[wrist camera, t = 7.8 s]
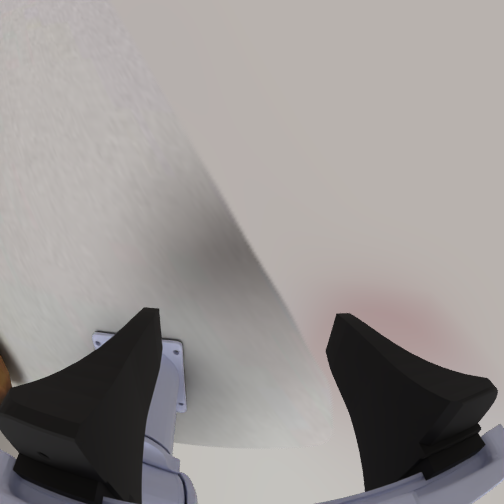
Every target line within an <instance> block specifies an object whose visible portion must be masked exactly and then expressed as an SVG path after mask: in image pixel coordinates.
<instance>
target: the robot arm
mask: <svg viewBox="0 0 504 504" xmlns="http://www.w3.org/2000/svg"><path fill="white" fill-rule="evenodd" d="M92 339H93V343H94V347H95V351H94V352H92V353H91V354H89V355H88V356H86V357H84V358H83V359H81V360H80V361H78V362H76V363H74V364H72V365H70V366H69V367H67V368H65V369H63V370H61V371H59V372H57V373H54V374H52V375H50V376H47V377H45V378H42V379H40V380H37V381H34V382H31V383H27V384H24V385H20V386H17V387H12V388H10V390H9V391H8V393H7V395H6V396H5V398H4V400H3V402H2V403H1V405H0V430H1V432H2V433H3V434H4V436H5V437H6V438H7V439H8V440H9V441H10V443H11V444H12V445H13V446H14V447H15V449H16V450H17V451H18V452H19V455H18V457H17V459H15V458H14V457H13V456H11V455H10V454H8V453H6V452H4V451H3V450H1V449H0V504H197V495H196V491H195V489H194V487H193V484H192V481H191V480H190V478H189V477H188V476H187V475H186V474H184V473H182V472H179V467H180V460H179V459H177V458H175V457H173V456H172V452H173V442H174V432H175V422H176V412H182V413H183V412H186V411H187V404H186V392H185V379H184V365H183V347H182V344H181V342H179V341H173V340H162V337H161V326H160V315H159V309H158V308H145V307H144V308H143V309H142V310H141V311H140V312H139V313H138V314H136V315H135V316H134V317H133V318H132V319H131V320H130V321H129V322H128V323H127V324H126V325H125V326H124V327H123V328H122V329H121V330H119V331H118V332H117V333H116V334H108V333H101V332H95V333H94V334H93V335H92ZM97 341H99V342H100V343H99V342H97ZM174 350H177V351H179V352H175V351H174ZM326 354H327V358H328V362H329V366H330V369H331V372H332V374H333V377H334V379H335V381H336V384H337V386H338V388H339V390H340V393H341V395H342V397H343V400H344V402H345V404H346V407H347V409H348V412H349V414H350V417H351V420H352V424H353V427H354V431H355V435H356V439H357V443H358V448H359V452H360V458H361V463H362V469H363V477H364V486H365V492H363V493H360V494H356V495H352V496H349V497H345V498H341V499H336V500H331V501H327V502H321V503H316V504H472V503H474V502H475V501H477V500H478V499H480V498H481V497H482V496H484V495H485V494H486V493H487V492H489V491H490V490H492V489H493V488H494V487H495V486H497V485H498V484H499V483H500V482H502V481H503V480H504V428H503V427H502V425H501V424H499V425H497V426H496V427H494V428H493V429H491V430H489V431H488V432H486V433H485V434H484V435H483V436H482V437H480V436H479V434H478V432H479V431H480V430H481V427H480V425H479V424H478V422H479V421H480V420H481V419H482V417H483V416H484V415H485V414H486V412H487V411H488V410H489V409H490V407H491V406H492V404H493V403H494V401H495V399H496V397H497V393H498V390H497V388H496V387H495V386H494V385H493V384H492V382H491V381H490V380H489V379H488V378H483V377H478V376H472V375H467V374H463V373H459V372H456V371H452V370H449V369H446V368H443V367H441V366H438V365H435V364H433V363H430V362H428V361H426V360H424V359H422V358H420V357H418V356H416V355H414V354H412V353H410V352H408V351H406V350H405V349H403V348H401V347H400V346H398V345H396V344H395V343H393V342H392V341H390V340H389V339H387V338H386V337H384V336H382V335H381V334H380V333H378V332H377V331H375V330H374V329H373V328H371V327H370V326H368V325H367V324H365V323H364V322H362V321H361V320H360V319H358V318H356V317H355V316H353V315H351V314H349V313H342V314H336V318H335V321H334V325H333V328H332V331H331V335H330V338H329V342H328V345H327V348H326Z"/></svg>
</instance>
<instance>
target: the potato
mask: <svg viewBox="0 0 504 504" xmlns="http://www.w3.org/2000/svg"><path fill="white" fill-rule="evenodd" d="M10 388H12V385H11V380H10V375H9V372H8V370H7V368H6V365H5V363H4V361H3V359H2V357H1V355H0V405H1V403H2V402H3V400H4V398H5V396H6V395H7V393H8V391H9V390H10Z"/></svg>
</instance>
